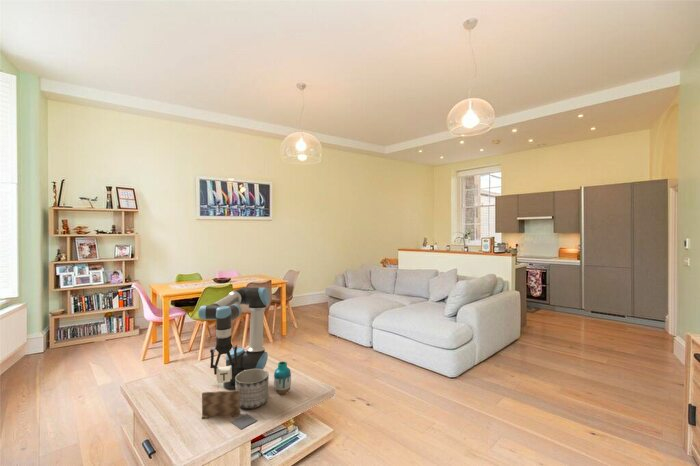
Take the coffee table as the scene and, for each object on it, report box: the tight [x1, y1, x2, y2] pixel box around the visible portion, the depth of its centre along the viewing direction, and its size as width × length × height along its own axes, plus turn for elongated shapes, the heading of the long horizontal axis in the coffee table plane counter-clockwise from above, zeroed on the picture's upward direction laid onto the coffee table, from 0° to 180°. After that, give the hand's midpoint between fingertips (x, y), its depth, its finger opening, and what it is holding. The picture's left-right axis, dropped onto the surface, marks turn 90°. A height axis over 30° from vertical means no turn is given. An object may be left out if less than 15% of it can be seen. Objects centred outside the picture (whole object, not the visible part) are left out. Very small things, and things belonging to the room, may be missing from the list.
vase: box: [273, 360, 292, 395], centre depth 209 cm, size 11×11×19 cm
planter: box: [235, 369, 270, 409], centre depth 197 cm, size 19×19×16 cm
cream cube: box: [217, 365, 230, 384], centre depth 174 cm, size 6×6×6 cm
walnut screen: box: [201, 390, 241, 420], centre depth 185 cm, size 20×6×13 cm, turn 97°
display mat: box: [230, 413, 258, 430], centre depth 178 cm, size 10×10×1 cm
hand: (224, 379), depth 175 cm, fingers closed on cream cube, 6 cm apart
